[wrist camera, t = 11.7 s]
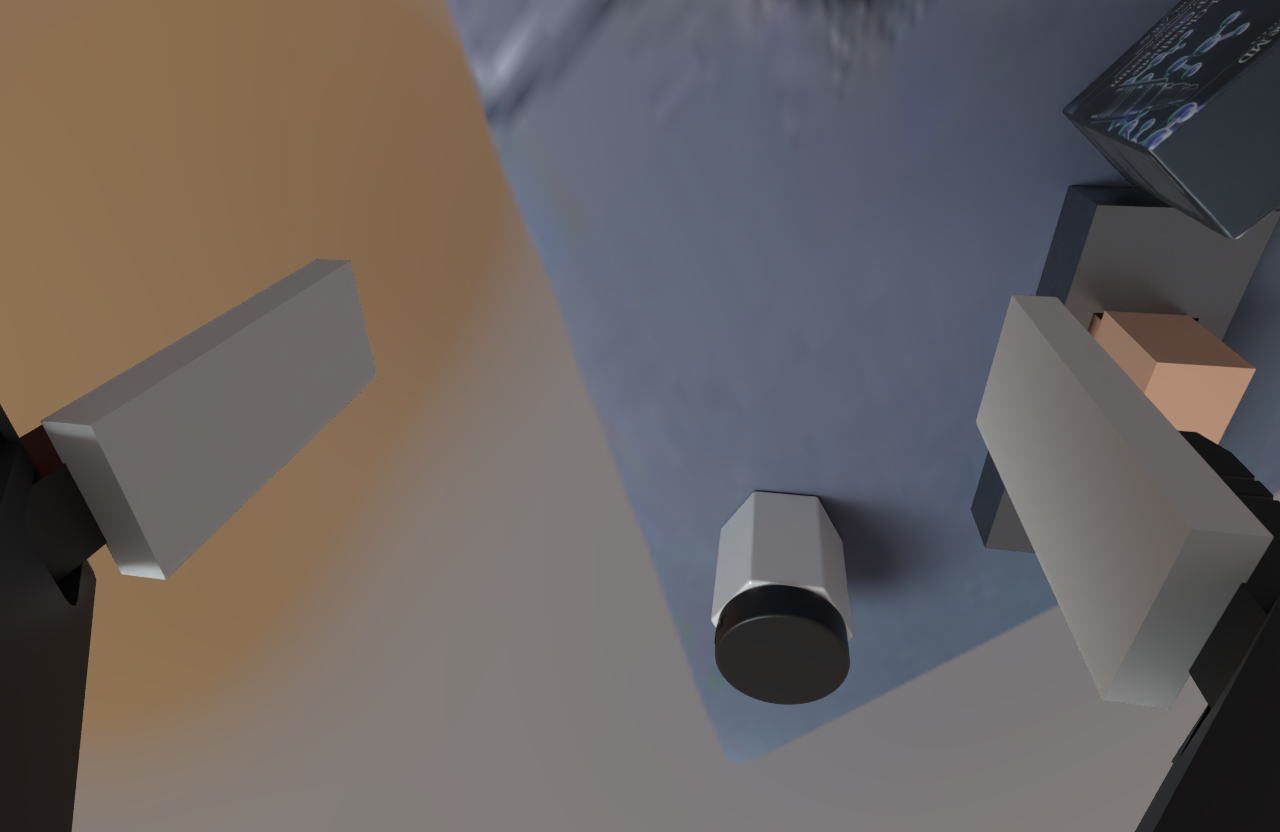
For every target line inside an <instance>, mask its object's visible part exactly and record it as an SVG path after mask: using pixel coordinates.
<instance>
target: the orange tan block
mask: <svg viewBox="0 0 1280 832" xmlns="http://www.w3.org/2000/svg"><path fill="white" fill-rule="evenodd" d="M1087 331H1088V332H1089V333H1090V334H1091V336H1092V337H1093V338H1094V339H1095V340H1096V341H1097V342H1098V343H1099V344H1100V345H1101V347H1102V348H1103V349H1104V350H1105V351H1106V352H1107V353H1108V354H1109V355H1110V357H1111V358H1112V359H1113V360H1114V361H1115V362H1116V363H1117V364H1118V365H1119V366H1120V368H1121V369H1122V370H1123V371H1124V372H1125V373H1126V374H1127V375H1128V376H1129V378H1130V379H1131V380H1132V381H1133V382H1134V383H1135V384H1136V385H1137V386H1138V387H1139V389H1140V390H1141V391H1142V392H1143V393H1144V394H1145V395H1146V396H1147V397H1148V398H1149V400H1150V401H1151V402H1152V403H1153V404H1154V405H1155V406H1156V407H1157V408H1158V410H1159V411H1160V412H1161V413H1162V414H1163V415H1164V416H1165V417H1166V418H1167V419H1168V421H1169V422H1170V423H1171V424H1172V425H1173V426H1174V427H1175V428H1176V429H1177V431H1190V432H1197V433H1199V434H1201V435H1202V436H1204V437H1206V438H1207V439H1209V440H1211V441H1212V442H1214V443H1216V444H1217V445H1218V443H1219V441H1220V439H1221V437H1222V435H1223V433H1224V431H1225V429H1226V427H1227V426H1228V424H1229V422H1230V420H1231V418H1232V416H1233V414H1234V412H1235V410H1236V408H1237V406H1238V404H1239V402H1240V400H1241V398H1242V396H1243V394H1244V392H1245V390H1246V388H1247V386H1248V384H1249V382H1250V380H1251V378H1252V376H1253V374H1254V372H1255V370H1256V368H1255V367H1253V366H1252V365H1251V364H1250V363H1248V362H1247V361H1246V360H1245V359H1243V358H1242V357H1241V356H1240V355H1238V354H1237V353H1236V352H1234V351H1233V350H1232V349H1231V348H1229V347H1228V346H1227V345H1226V344H1224V343H1223V342H1222V341H1221V340H1219V339H1218V338H1217V337H1216V336H1214V335H1213V334H1212V333H1211V332H1209V331H1208V330H1207V329H1205V328H1204V327H1203V326H1202V325H1200V324H1199V323H1198V322H1197V321H1195V320H1194V319H1193V318H1192V317H1190V316H1189V315H1172V314H1154V313H1136V312H1118V311H1105V312H1104V313H1093V316H1092V319H1091V322H1090V325H1089V328H1088V330H1087Z"/></svg>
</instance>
